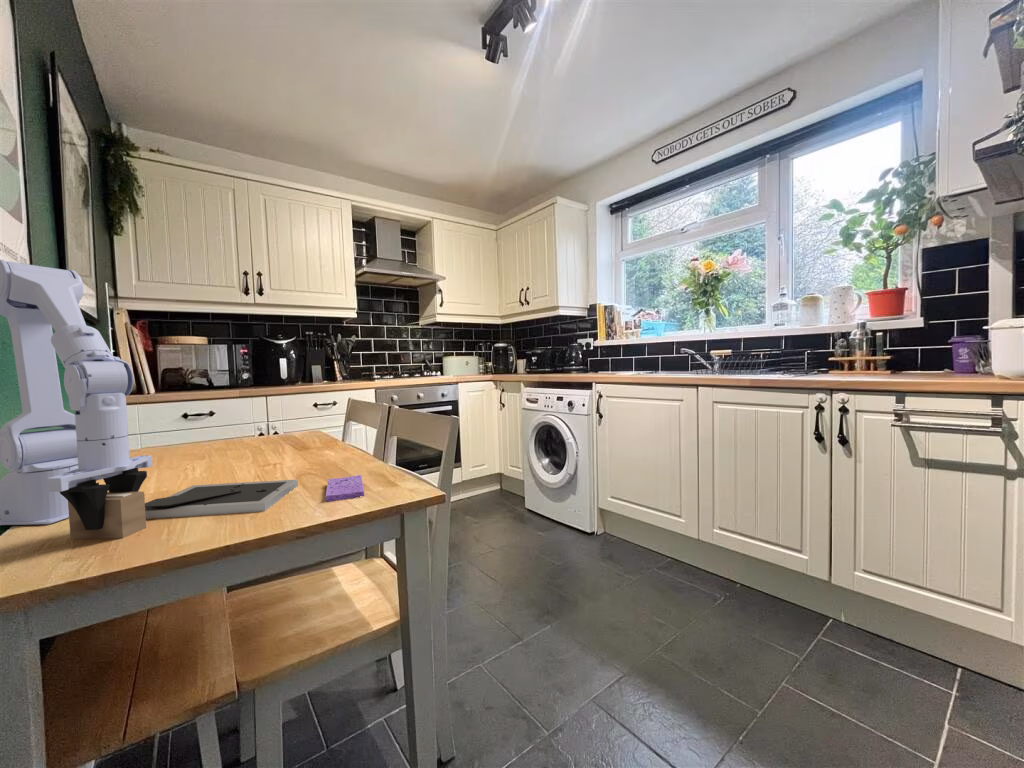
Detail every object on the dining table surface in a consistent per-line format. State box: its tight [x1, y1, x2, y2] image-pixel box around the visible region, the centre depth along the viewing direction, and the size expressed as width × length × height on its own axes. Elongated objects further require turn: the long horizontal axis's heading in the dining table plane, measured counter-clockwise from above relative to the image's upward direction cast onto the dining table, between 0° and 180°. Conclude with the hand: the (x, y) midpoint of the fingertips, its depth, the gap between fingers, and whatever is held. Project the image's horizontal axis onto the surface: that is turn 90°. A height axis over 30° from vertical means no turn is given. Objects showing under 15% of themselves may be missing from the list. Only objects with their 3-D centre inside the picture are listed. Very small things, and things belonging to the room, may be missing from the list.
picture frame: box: [145, 479, 299, 520], centre depth 79 cm, size 16×3×21 cm
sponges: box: [325, 474, 365, 503], centre depth 84 cm, size 7×13×2 cm, turn 22°
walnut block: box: [68, 491, 147, 540], centre depth 64 cm, size 8×4×6 cm, turn 90°
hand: (108, 523), depth 64 cm, fingers closed on walnut block, 4 cm apart
